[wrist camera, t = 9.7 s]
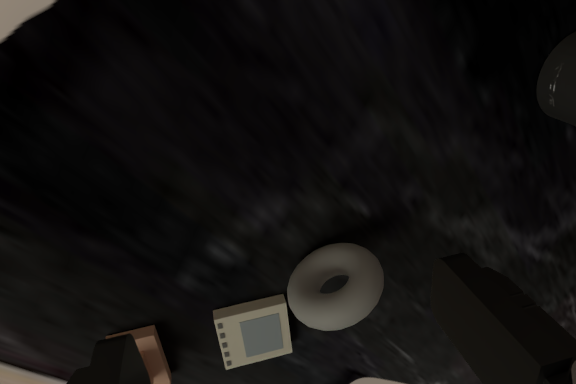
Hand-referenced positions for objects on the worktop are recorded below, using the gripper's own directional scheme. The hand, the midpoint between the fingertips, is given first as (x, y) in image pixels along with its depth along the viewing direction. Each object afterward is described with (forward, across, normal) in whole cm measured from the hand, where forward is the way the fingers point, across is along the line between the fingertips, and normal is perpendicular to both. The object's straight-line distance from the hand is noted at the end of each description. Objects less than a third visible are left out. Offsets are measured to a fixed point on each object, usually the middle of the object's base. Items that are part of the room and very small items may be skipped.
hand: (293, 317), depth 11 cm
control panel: (+27, +1, +28) cm, 39 cm away
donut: (+28, -8, +20) cm, 35 cm away
